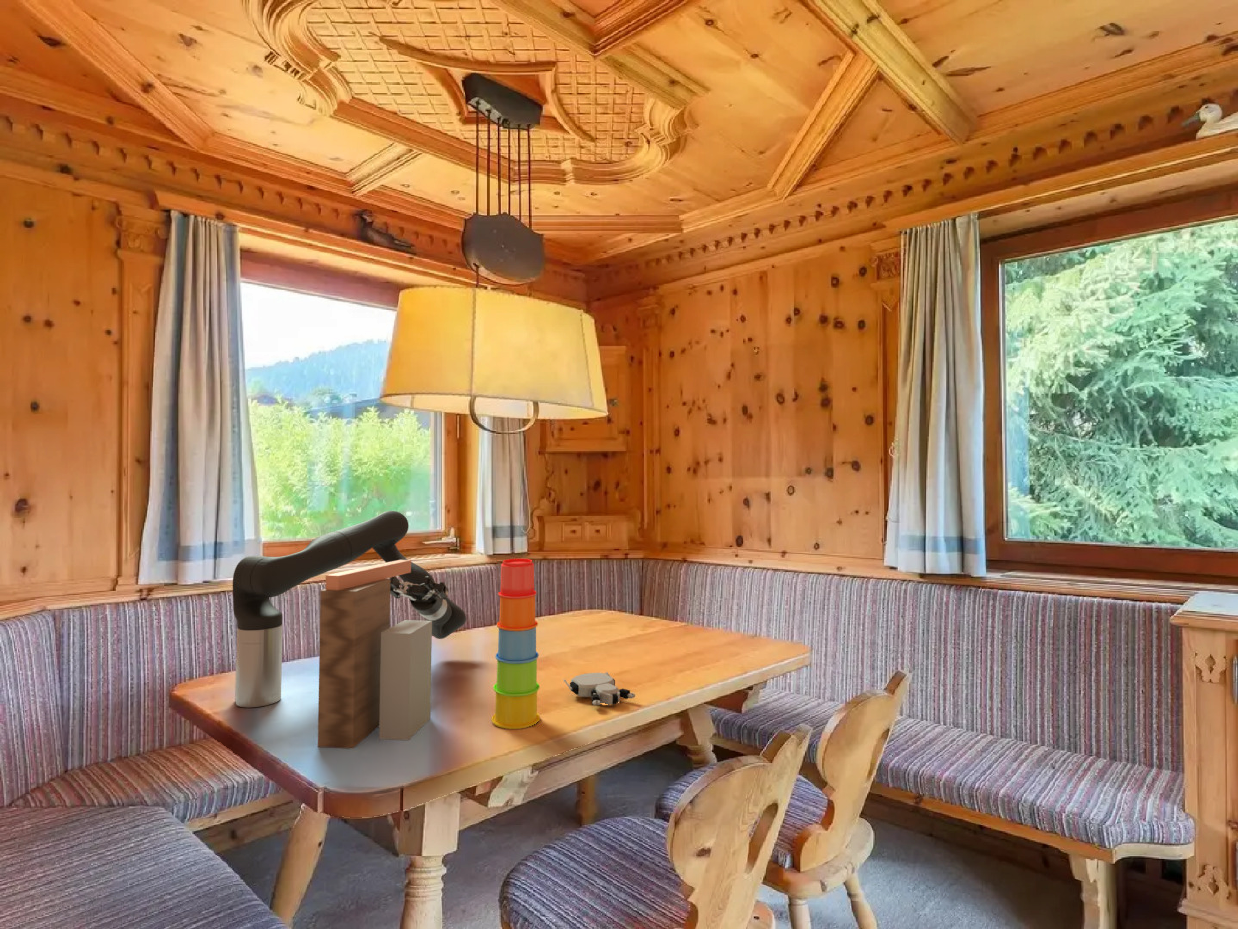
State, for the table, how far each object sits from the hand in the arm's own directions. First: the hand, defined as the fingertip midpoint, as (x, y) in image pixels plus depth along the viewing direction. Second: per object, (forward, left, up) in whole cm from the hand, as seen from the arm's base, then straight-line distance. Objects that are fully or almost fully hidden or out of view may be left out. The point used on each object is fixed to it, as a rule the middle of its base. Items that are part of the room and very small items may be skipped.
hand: (409, 579), depth 165 cm
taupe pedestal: (+20, -16, -27) cm, 37 cm away
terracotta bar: (+11, -19, +3) cm, 22 cm away
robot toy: (+42, +23, -27) cm, 55 cm away
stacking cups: (+36, 0, -27) cm, 45 cm away
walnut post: (+14, -24, -27) cm, 38 cm away
